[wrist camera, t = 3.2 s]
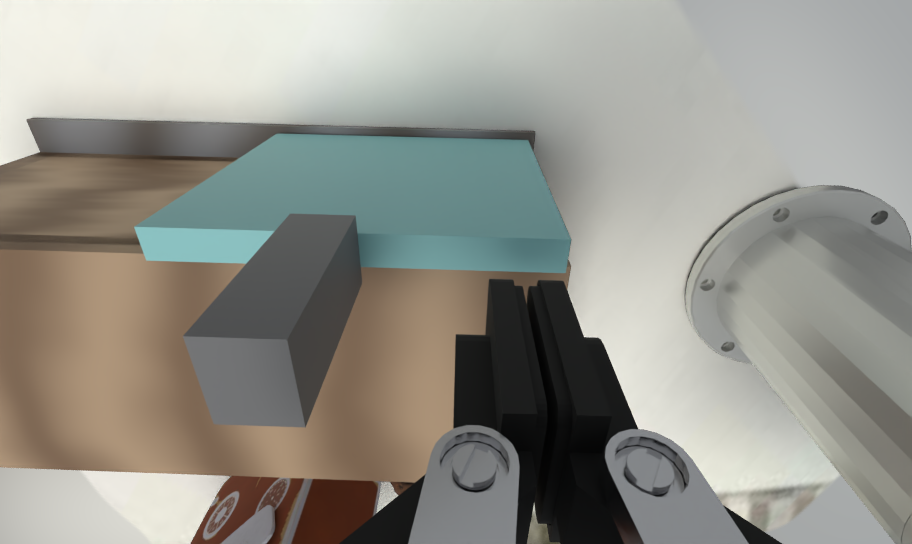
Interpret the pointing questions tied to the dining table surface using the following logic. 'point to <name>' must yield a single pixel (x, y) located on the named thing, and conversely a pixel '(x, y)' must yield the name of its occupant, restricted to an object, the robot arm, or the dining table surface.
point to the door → (339, 248)
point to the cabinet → (180, 305)
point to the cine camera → (287, 511)
